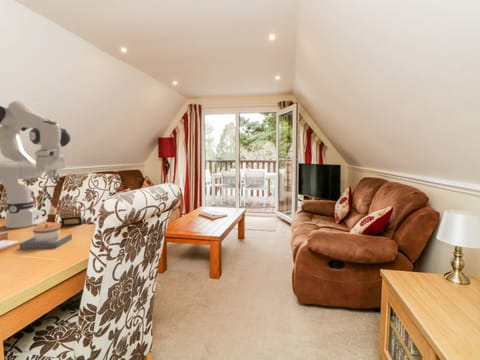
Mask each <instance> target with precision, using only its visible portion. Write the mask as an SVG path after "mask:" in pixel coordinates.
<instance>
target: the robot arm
mask: <svg viewBox="0 0 480 360" xmlns="http://www.w3.org/2000/svg"><path fill="white" fill-rule="evenodd" d="M27 129H28V130H29V129H31V130H30V131H29V141H30V142H31V143H32V144H34V145H35V146H36V145H37V146H40V148H39V149H37V150H36V151H35V152H34V155H35V156H36V158H35V159H33V158H32V157H31V156H30V155H28V153H27V152H26V149H25V148H24V144H23V141H22V138H21V135H20V133H21V131H22V132H25V131H26V130H27ZM70 135H71V134H70V133H69V132H68V131H67V129H65V128H61V127H60V124H59V123H58V122H56V121H52V120H50V119H49V118H46V117H44V116H43V115H42V114H39V113H38V112H36V111H35V110H33V108H31V107H30V106H29V105H27V103H24V102H22V101H19V100H15V101H12V102H10V103H9V104H8V105H7V107H5V106H4V107H3V106H1V105H0V153H1V155H2V156H3V157H4V158H6V159H9V160H2V161H0V184H1V185H2V186H3V187H4V189H5V191H6V196H7V203H6V209H7V211H6V212H5V215H6V216H5V223H4V225H3V226H4V227H5V228H6V229H19V228H26V227H32V226H33V227H34V226H39V225H41V224H42V223H44V222H46V221H47V220H48V219H47V218H46V217H43V215H42V211H41V210H39V209H38V208H36V207H35V206H34V205H37V202H36V201H35V200H32V194H31V193H32V192H31V189H30V188H29V187H28V186H27V185H24V184H21V183H19V180H27V179H28V180H30V179H31V180H33V179H36V178H39V177H41V176H42V175H43V174H44V172H46V173H47V176H48V178H49V179H55V178H56V176H57V172H58V170H62V169H63V170H64V169H65V167H66V160H65V159H66V158H65V156H64V153H62V147H65V146H67V145H68V144H69V143H70V141H71V136H70Z"/></svg>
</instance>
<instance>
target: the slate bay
mask: <svg viewBox="0 0 480 360" xmlns="http://www.w3.org/2000/svg"><path fill="white" fill-rule="evenodd" d="M72 239H73V235H72V233H69V234H67V235H66V236H64V237H62V238H60V239H59V240H57V241H56V242H36V241H35V239H34V236H32V237H31V238H28V239H26V240H24V241H22V242H20V243H19V250H23V249H25V250H26V249H27V250H29V249H57V248H59V247H61V246H63V245H65V244H66V243H68V242H69V241H71V240H72Z"/></svg>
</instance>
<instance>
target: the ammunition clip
mask: <svg viewBox="0 0 480 360" xmlns="http://www.w3.org/2000/svg"><path fill="white" fill-rule="evenodd" d="M67 207H68V209H67ZM60 209H61V210H60V225H61V226H60V228H63V227H73V226H82V225H83V220H82V212H81V205H78V206H77V205H75V206H73V205H72V206H71V207H70V206H64V207H63V206H61V208H60Z"/></svg>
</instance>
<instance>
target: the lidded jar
mask: <svg viewBox="0 0 480 360" xmlns="http://www.w3.org/2000/svg"><path fill="white" fill-rule="evenodd" d="M32 234H33V237H34V239H35V241H36V242H56V241H58V239H59V238H60V235H61V226H60V225H55V224H51V225H50V224H49V225H48V224H45V225H43V226H42V225H41V226H38V227H35V228H33V229H32Z"/></svg>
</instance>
